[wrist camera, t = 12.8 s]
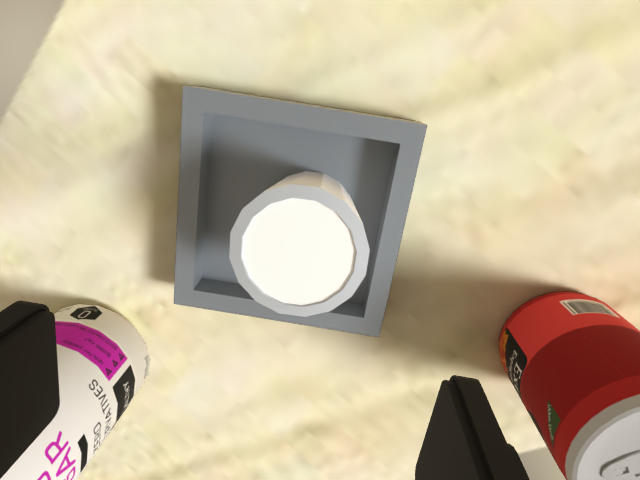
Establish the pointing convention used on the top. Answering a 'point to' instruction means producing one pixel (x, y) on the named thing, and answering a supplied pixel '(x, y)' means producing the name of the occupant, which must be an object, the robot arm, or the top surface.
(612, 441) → the canned food
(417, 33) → the top surface
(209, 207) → the tray
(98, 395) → the supplement can
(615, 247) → the top surface
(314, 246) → the shot glass
